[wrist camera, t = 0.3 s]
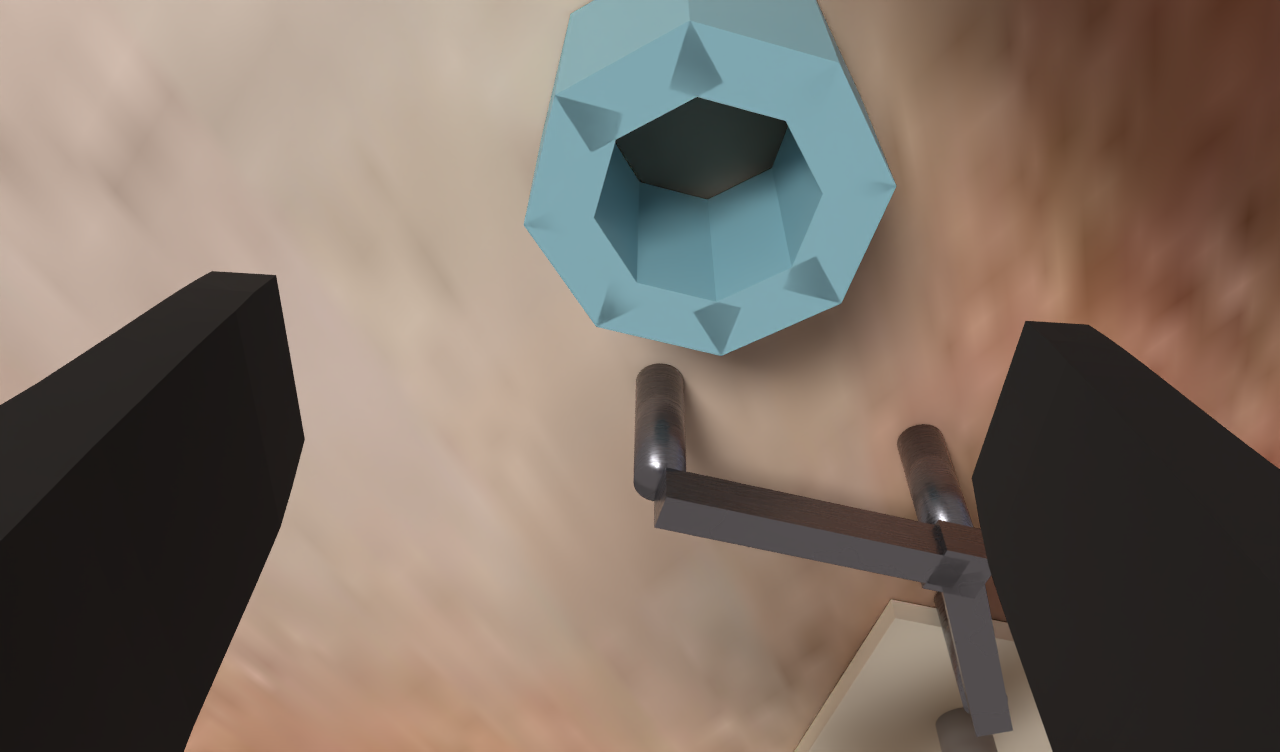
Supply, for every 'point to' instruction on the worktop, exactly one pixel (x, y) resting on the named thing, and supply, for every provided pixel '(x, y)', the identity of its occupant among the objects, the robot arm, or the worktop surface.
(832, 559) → the handle
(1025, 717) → the peg stand
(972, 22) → the worktop surface
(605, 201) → the ring
